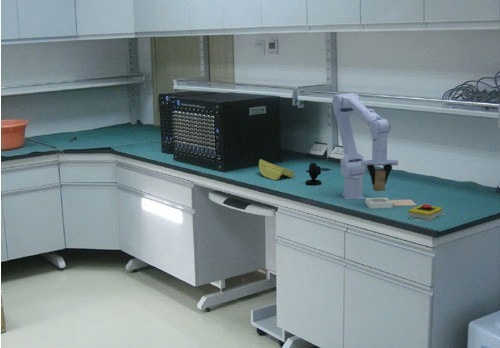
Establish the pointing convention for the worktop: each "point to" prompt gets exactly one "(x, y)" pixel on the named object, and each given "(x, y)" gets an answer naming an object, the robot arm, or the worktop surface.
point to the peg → (379, 180)
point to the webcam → (313, 174)
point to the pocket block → (378, 203)
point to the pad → (402, 202)
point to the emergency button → (425, 212)
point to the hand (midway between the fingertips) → (379, 183)
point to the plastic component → (273, 170)
